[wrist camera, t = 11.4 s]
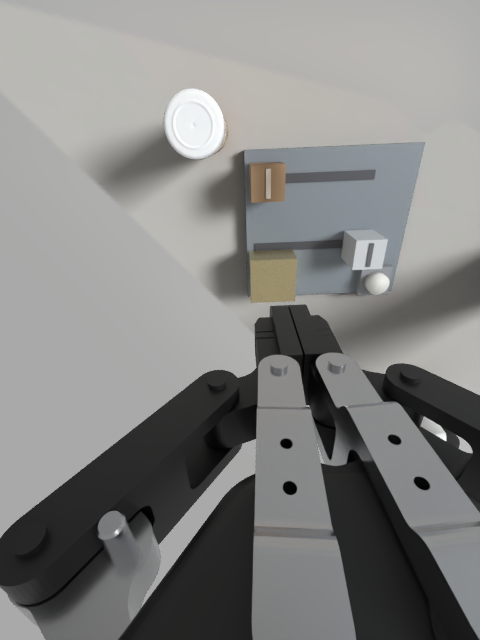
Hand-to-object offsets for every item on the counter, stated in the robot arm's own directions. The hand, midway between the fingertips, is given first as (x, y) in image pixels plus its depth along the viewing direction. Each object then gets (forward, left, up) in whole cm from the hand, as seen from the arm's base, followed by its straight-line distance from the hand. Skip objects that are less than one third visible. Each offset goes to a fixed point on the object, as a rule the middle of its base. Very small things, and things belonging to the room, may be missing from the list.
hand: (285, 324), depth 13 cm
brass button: (-2, +8, -27) cm, 28 cm away
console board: (-9, +3, -29) cm, 31 cm away
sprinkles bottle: (+5, -8, -29) cm, 31 cm away
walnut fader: (-1, -3, -28) cm, 28 cm away
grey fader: (-13, +5, -28) cm, 31 cm away
